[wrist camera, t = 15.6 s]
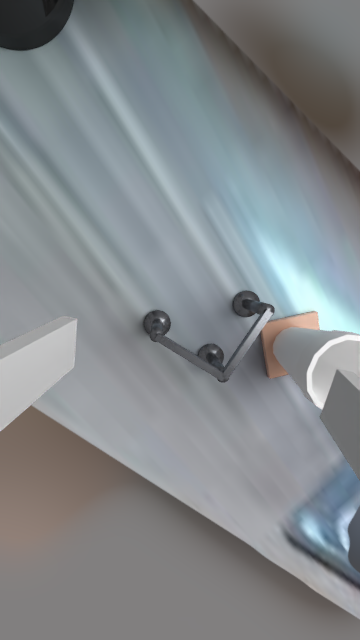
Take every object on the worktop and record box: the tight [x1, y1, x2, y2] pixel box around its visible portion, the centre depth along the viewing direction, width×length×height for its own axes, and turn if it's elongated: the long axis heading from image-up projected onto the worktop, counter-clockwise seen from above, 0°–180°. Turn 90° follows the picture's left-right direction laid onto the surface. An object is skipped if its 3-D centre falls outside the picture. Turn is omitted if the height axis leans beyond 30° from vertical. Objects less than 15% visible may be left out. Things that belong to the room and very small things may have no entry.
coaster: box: [260, 311, 320, 379], centre depth 44 cm, size 9×9×1 cm
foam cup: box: [273, 327, 360, 410], centre depth 37 cm, size 10×9×13 cm
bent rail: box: [144, 291, 274, 382], centre depth 38 cm, size 11×18×10 cm, turn 102°
